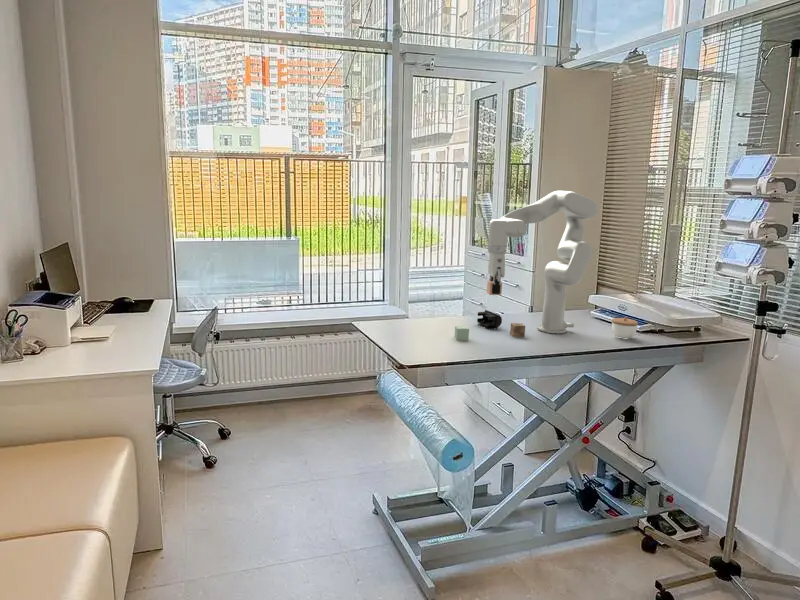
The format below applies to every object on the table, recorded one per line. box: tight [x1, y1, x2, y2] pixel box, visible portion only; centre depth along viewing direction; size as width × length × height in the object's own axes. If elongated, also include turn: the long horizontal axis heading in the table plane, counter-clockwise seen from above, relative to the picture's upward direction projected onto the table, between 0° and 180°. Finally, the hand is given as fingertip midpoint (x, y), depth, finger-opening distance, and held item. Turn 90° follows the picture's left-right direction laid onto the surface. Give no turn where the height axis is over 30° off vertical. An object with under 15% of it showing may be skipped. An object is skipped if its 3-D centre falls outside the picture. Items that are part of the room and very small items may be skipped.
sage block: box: [454, 325, 470, 341], centre depth 249 cm, size 5×5×5 cm
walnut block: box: [509, 322, 526, 338], centre depth 258 cm, size 5×5×5 cm
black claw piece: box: [476, 309, 503, 330], centre depth 272 cm, size 10×7×7 cm
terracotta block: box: [486, 280, 503, 296], centre depth 249 cm, size 5×5×5 cm
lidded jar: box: [611, 316, 639, 339], centre depth 262 cm, size 11×11×9 cm
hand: (494, 292), depth 250 cm, fingers closed on terracotta block, 5 cm apart
